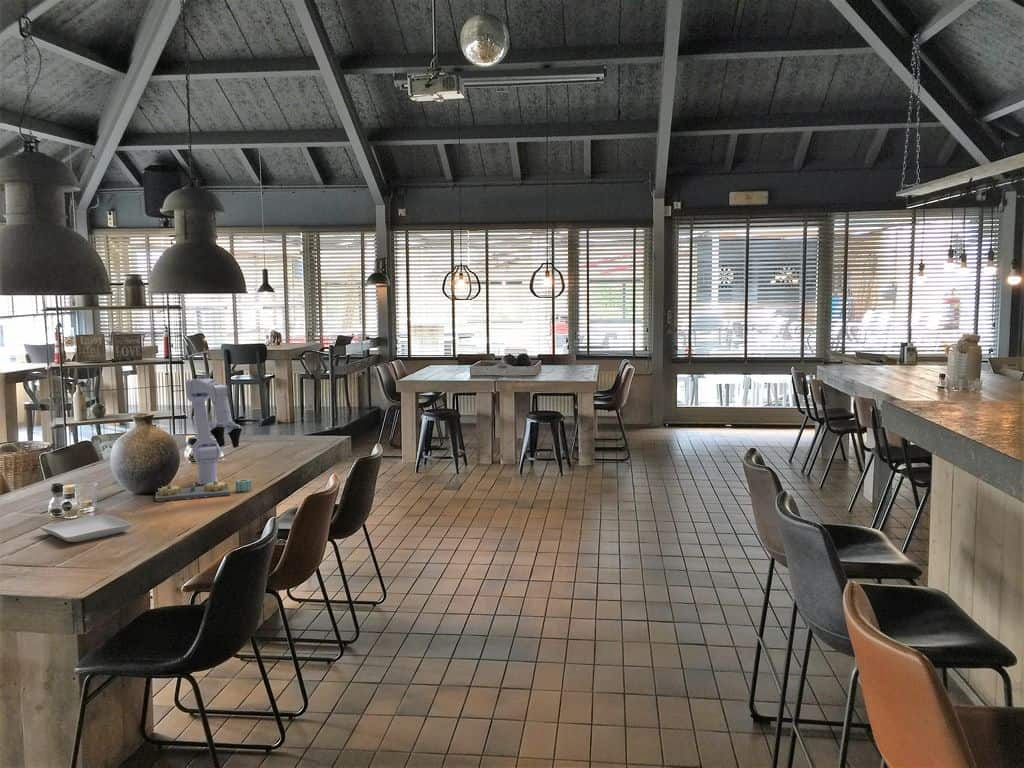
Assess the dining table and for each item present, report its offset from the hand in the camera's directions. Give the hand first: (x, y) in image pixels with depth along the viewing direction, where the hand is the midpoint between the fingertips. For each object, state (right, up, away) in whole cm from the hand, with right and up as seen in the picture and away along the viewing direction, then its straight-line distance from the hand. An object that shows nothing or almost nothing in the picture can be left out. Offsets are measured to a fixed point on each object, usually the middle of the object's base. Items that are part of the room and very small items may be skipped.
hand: (229, 446), depth 315 cm
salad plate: (-29, -25, -50) cm, 63 cm away
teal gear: (+2, -18, +10) cm, 21 cm away
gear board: (-15, -19, +3) cm, 25 cm away
